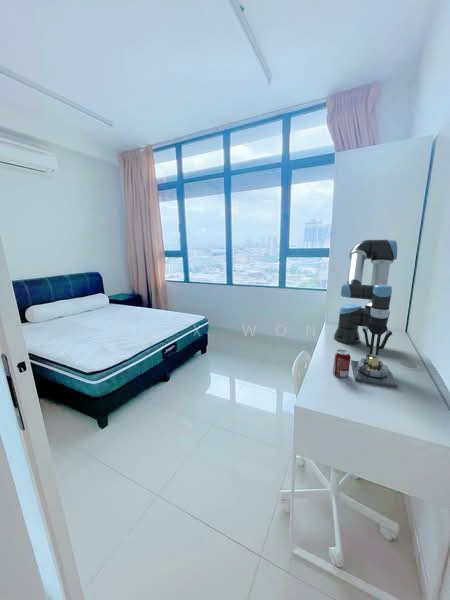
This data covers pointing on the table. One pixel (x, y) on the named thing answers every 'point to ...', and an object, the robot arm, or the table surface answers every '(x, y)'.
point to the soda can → (341, 363)
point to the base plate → (380, 381)
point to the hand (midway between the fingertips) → (372, 360)
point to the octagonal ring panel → (376, 373)
